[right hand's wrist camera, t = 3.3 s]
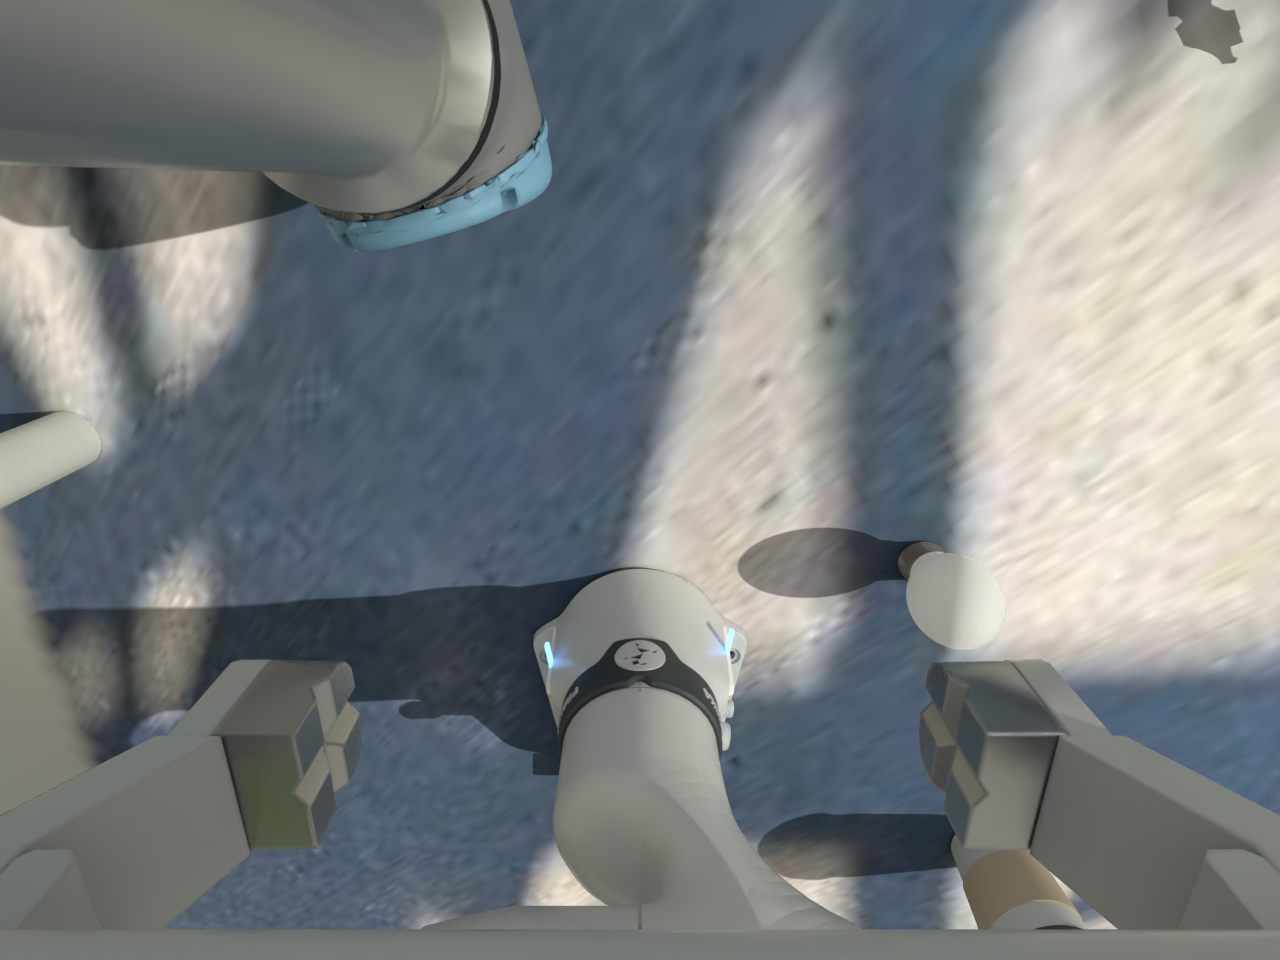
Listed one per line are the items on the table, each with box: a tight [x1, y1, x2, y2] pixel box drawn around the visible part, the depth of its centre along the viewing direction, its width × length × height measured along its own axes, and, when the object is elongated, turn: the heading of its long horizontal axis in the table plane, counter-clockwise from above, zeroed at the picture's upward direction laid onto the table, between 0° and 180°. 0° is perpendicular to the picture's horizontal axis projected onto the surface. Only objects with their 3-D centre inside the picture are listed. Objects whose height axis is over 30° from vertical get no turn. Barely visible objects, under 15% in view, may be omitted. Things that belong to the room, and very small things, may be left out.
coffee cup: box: [951, 834, 1088, 930], centre depth 68 cm, size 9×9×15 cm
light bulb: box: [898, 542, 1006, 650], centre depth 58 cm, size 7×7×11 cm
